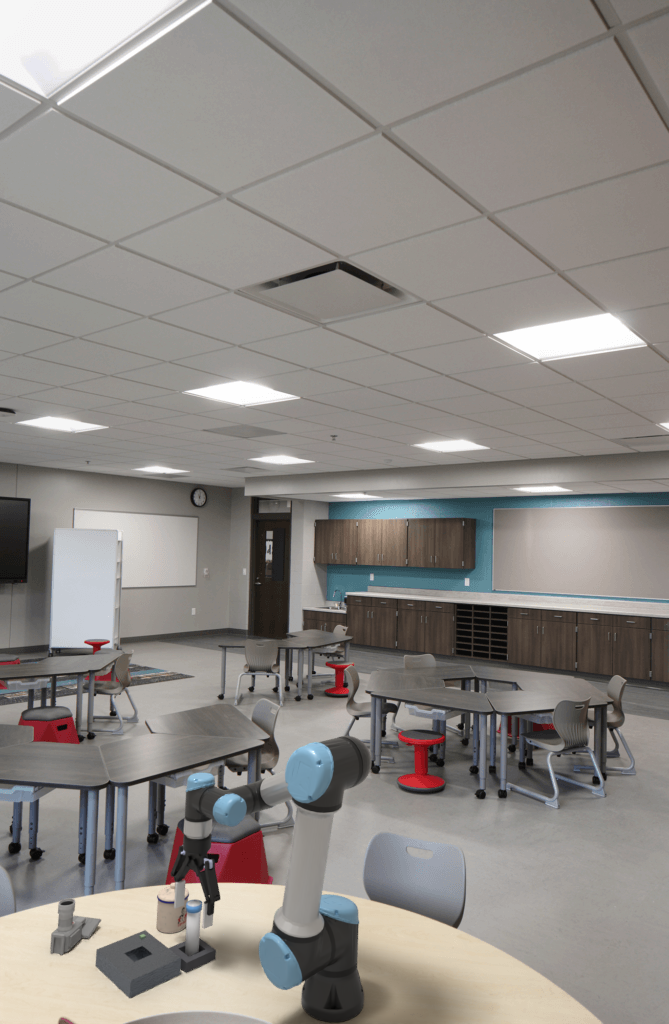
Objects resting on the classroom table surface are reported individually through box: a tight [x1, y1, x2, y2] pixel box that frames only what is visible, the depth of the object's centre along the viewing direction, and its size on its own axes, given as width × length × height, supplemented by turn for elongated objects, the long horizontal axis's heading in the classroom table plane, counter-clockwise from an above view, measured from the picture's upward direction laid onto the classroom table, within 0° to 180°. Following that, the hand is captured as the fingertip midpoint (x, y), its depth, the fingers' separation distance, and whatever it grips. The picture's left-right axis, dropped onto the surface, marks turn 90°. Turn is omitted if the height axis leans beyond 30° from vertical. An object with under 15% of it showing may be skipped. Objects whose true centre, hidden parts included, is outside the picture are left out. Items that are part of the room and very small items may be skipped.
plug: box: [185, 899, 203, 957], centre depth 174 cm, size 4×4×14 cm
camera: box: [49, 898, 102, 956], centre depth 181 cm, size 9×12×15 cm
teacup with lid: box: [155, 882, 190, 934], centre depth 191 cm, size 12×9×12 cm
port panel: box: [94, 929, 182, 999], centre depth 167 cm, size 18×14×4 cm
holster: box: [168, 937, 217, 974], centre depth 173 cm, size 9×9×2 cm
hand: (192, 916), depth 174 cm, fingers open, 13 cm apart
